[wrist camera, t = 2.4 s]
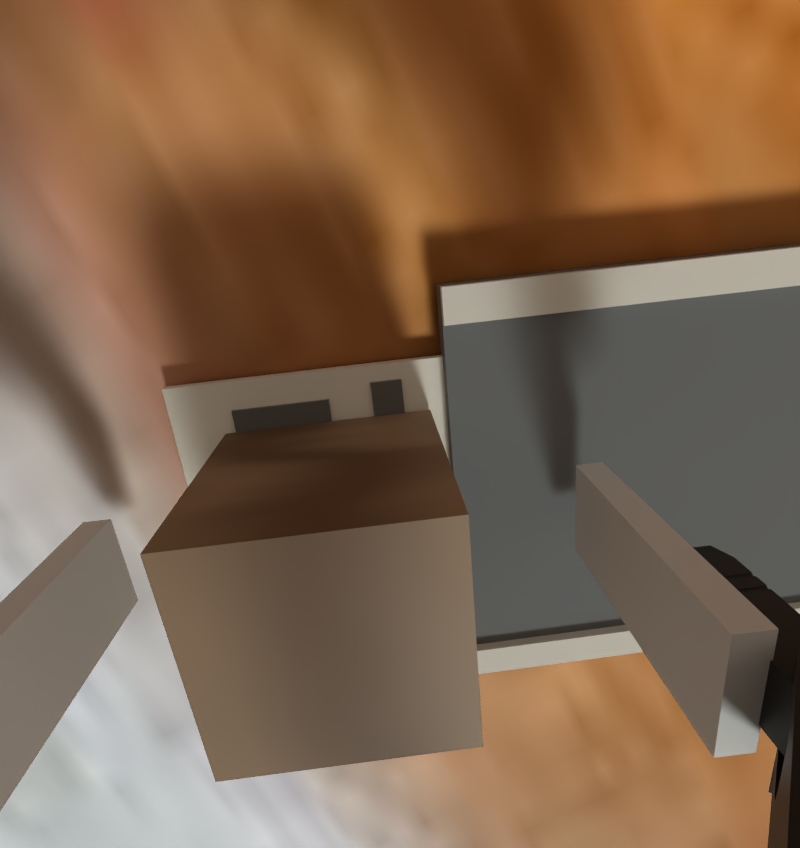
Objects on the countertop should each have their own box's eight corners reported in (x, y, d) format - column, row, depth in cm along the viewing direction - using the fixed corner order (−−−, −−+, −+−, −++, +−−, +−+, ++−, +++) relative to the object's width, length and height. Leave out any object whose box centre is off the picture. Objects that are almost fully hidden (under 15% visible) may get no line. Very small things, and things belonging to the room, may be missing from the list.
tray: (463, 651, 19) (469, 675, 18) (435, 284, 14) (441, 287, 13) (810, 605, 19) (835, 626, 18) (885, 233, 15) (925, 233, 14)
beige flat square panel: (232, 636, 18) (229, 644, 17) (165, 386, 15) (160, 390, 14) (488, 602, 18) (491, 610, 18) (475, 350, 15) (477, 353, 15)
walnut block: (265, 600, 17) (215, 781, 11) (225, 433, 15) (140, 554, 9) (444, 578, 17) (482, 746, 11) (430, 409, 15) (468, 515, 9)
